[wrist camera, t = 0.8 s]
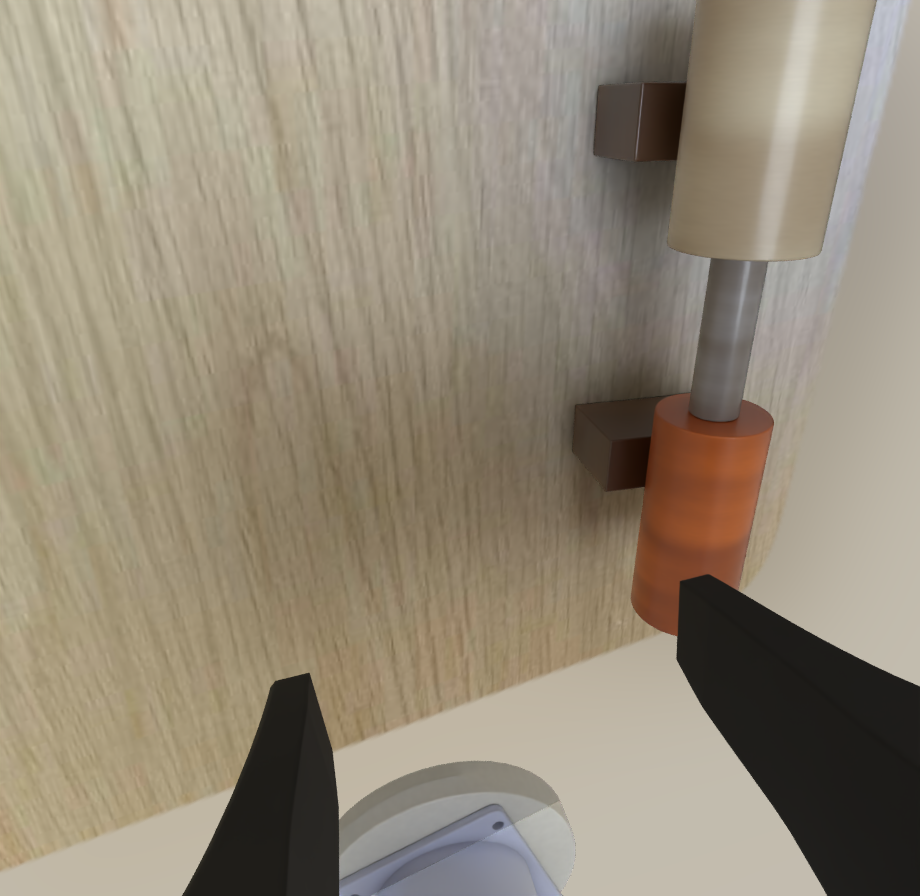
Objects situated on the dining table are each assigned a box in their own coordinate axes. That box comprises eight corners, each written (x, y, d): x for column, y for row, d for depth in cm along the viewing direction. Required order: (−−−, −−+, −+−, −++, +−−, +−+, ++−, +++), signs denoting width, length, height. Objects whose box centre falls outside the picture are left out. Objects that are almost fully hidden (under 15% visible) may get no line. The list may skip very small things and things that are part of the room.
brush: (702, 565, 21) (764, 634, 19) (606, 579, 21) (655, 652, 18) (805, -9, 15) (927, -37, 12) (668, -12, 14) (763, -42, 11)
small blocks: (688, 438, 22) (734, 476, 20) (571, 451, 21) (605, 492, 19) (743, 84, 18) (811, 81, 15) (597, 85, 17) (646, 81, 15)
